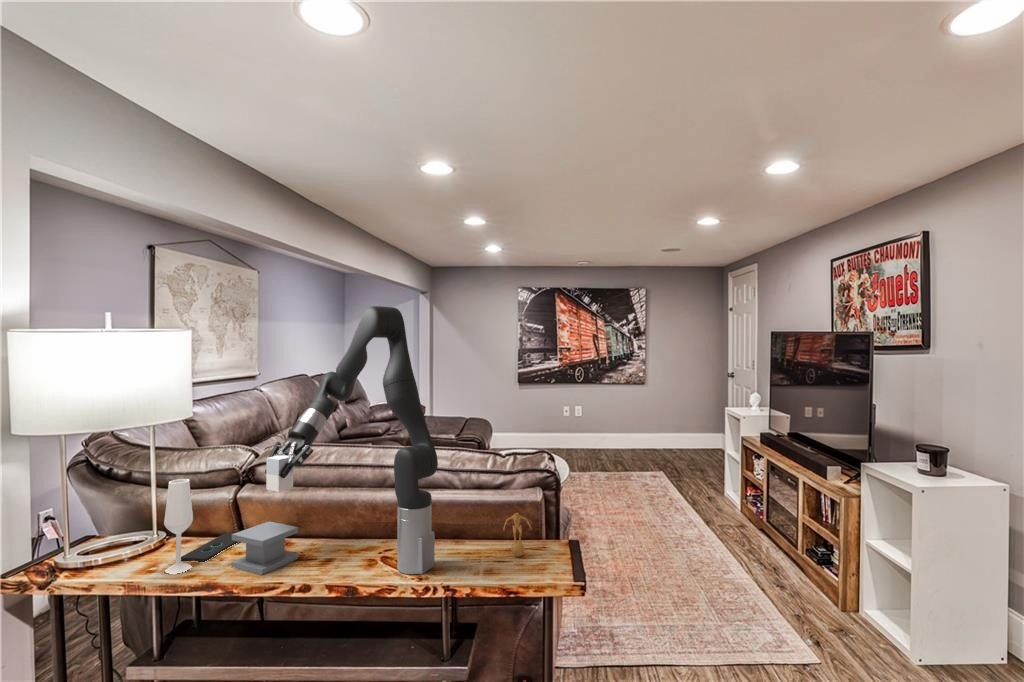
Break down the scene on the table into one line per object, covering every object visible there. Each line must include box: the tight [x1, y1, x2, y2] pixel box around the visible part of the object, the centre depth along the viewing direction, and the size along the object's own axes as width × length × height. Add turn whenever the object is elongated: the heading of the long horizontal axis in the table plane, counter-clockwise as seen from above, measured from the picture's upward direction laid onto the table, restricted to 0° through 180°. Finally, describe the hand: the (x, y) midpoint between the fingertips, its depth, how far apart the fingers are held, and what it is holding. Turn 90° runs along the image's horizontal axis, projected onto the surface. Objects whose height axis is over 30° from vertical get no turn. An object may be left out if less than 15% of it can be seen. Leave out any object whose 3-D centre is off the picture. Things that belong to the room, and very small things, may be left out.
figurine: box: [502, 512, 532, 558], centre depth 151 cm, size 8×6×12 cm
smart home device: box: [181, 532, 239, 563], centre depth 156 cm, size 8×2×20 cm
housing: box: [265, 454, 294, 493], centre depth 149 cm, size 5×5×9 cm
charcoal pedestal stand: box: [231, 521, 299, 576], centre depth 146 cm, size 12×12×9 cm
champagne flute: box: [163, 478, 194, 575], centre depth 142 cm, size 7×7×24 cm
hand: (274, 475), depth 147 cm, fingers closed on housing, 5 cm apart
